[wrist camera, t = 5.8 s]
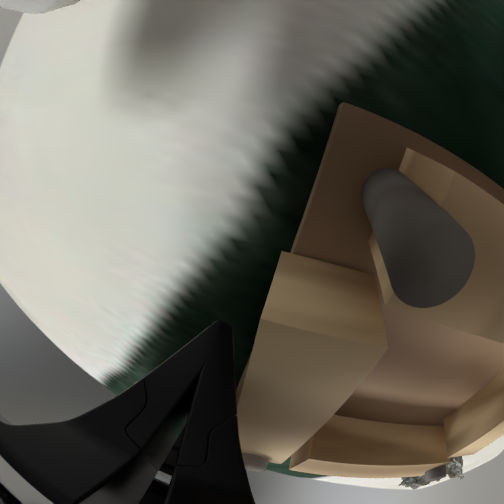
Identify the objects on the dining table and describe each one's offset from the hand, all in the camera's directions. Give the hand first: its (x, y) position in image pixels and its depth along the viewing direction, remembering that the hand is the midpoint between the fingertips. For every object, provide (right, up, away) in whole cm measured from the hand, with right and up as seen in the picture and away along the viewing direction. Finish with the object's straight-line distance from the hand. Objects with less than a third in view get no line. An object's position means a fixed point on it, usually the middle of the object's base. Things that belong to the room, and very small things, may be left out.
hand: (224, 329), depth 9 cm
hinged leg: (+2, -2, +2) cm, 4 cm away
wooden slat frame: (+10, -2, +2) cm, 10 cm away
